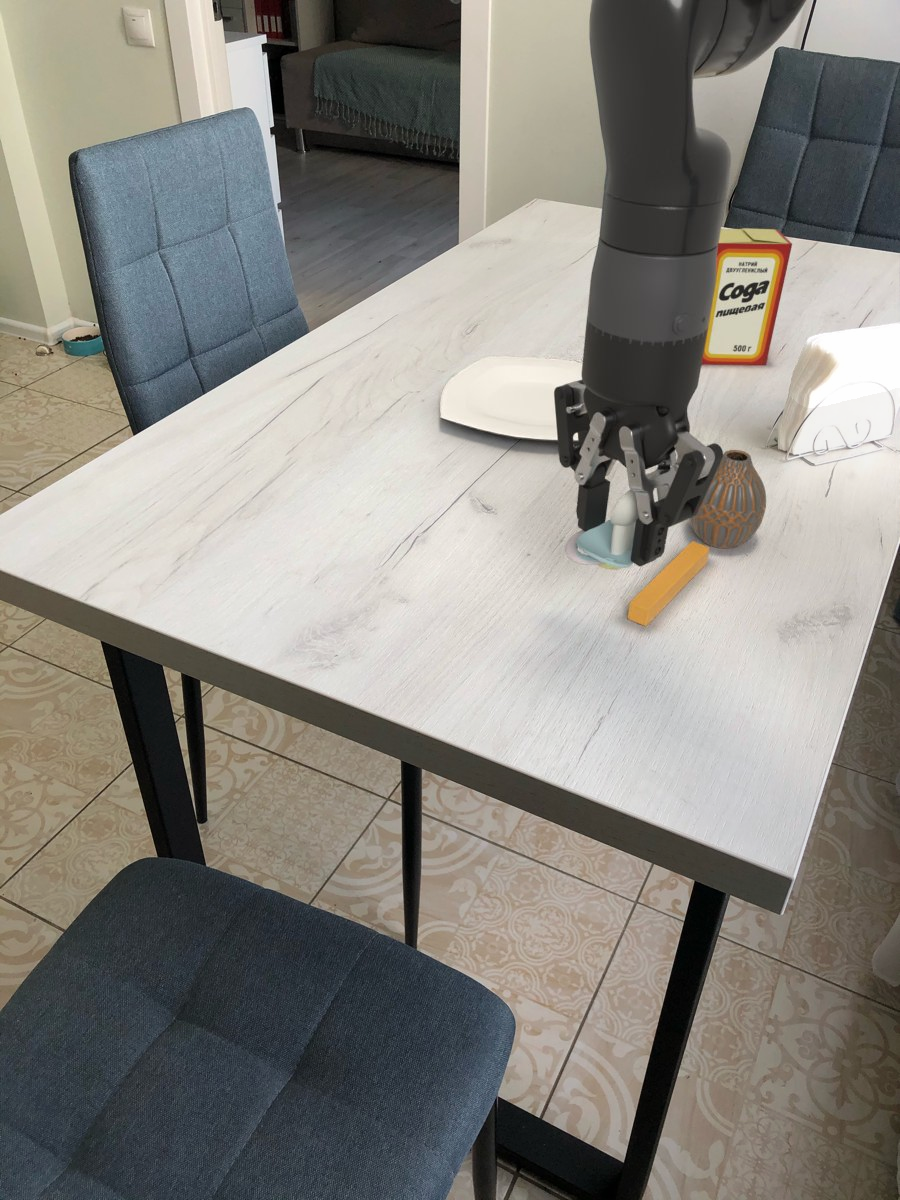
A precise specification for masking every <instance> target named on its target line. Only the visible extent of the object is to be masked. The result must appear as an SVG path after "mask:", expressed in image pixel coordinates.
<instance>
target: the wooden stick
mask: <svg viewBox="0 0 900 1200" xmlns="http://www.w3.org/2000/svg"><path fill="white" fill-rule="evenodd" d="M710 549H711V548H710V546H707V545H704V544H701V543H698V542H697V541H690V543H688V544H687V546H685V547H684V548H683V549H682V550H681V551H680V552H679V553H678V554H677V555H676V556H675V557H674V558H673V559H672V560H671V561H670V562H669V563H668V564H667V565H666V566H665V567H664V568H663V569H662V570H661V571H660V572H659V573H658V574H657V575H656V576H655V577H654V578H653V579H652V580H651V581H649V583H648V584H646V586H644V588H643V589H641V590H640V592H638V594H637V595H635V596H634V597H633V598H632V599H631V601H629V605H628V612H627V619H628V620H629V621H631V622H634V623H637V624H639V625H641V626H644V627H647V626H648V625H649V624H650V623H651V622H652V621H653V620H654V619H655V618H656V617H657V616H658V615H659V613H660V612H662V611H663V609H664V608H665V607H666V606H667V605H668V604H669V603H670V602H671V601H672V600H673V599H674V598H675V597H676V596H677V595H678V594H679V593H680V592H681V590H683V588H685V586H687V585H688V583H689V582H690V581H691V580H692V579H693V578H695V576H696V575H697V574H698V573H699V572H700V571H701V570H702V569H703V568H704V567H705V566H706V565H707V563H708V558H709V554H710Z"/></svg>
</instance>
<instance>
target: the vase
mask: <svg viewBox="0 0 900 1200" xmlns="http://www.w3.org/2000/svg"><path fill="white" fill-rule="evenodd" d="M766 509H767V494H766V488H765V484H764V482H763V480H762V478H761V476H760V474H759V473H758V472H757V470H756V468H755V467H754V463H753V460H752V457H751V455H750V454H749V453H748V452H746V451H743V450H739V449H729V450H727V451H725V452H723V458H722V460H721V462H720V464H719V467H718V469H717V471H716V473H715V475H714V478H713V480H712V482H711V484H710V486H709V488H708V491H707V493H706V495H705V497H704V499H703V502H702V504H701V506H700V508H699V510H698V513H697V515H696V516H694V517H692V518H689V519H688V520H689V523H690V527H691V529H692V530H693V532H694V534H695V535H696V536H697V537H698V539H700V540H701V541H702V542H703V543H704V544H707V545H708V546H711V547H713V548H719V549H732V548H736V547H738V546H740V545H742V544H744V543H746V542H748V541H749V540H750V539H752V538H753V536H754V535H755V534H756V533H757V531H758V529H759V528H760V526H761V525H762V522H763V519H764V517H765V513H766Z"/></svg>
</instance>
